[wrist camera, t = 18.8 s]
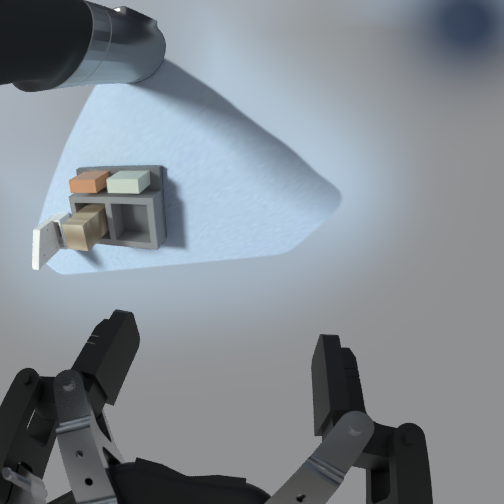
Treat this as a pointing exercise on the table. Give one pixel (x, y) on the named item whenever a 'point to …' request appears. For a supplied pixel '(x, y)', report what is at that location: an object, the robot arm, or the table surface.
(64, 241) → the white angled block
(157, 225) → the socket block
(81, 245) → the tan rectangular block
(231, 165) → the table surface
